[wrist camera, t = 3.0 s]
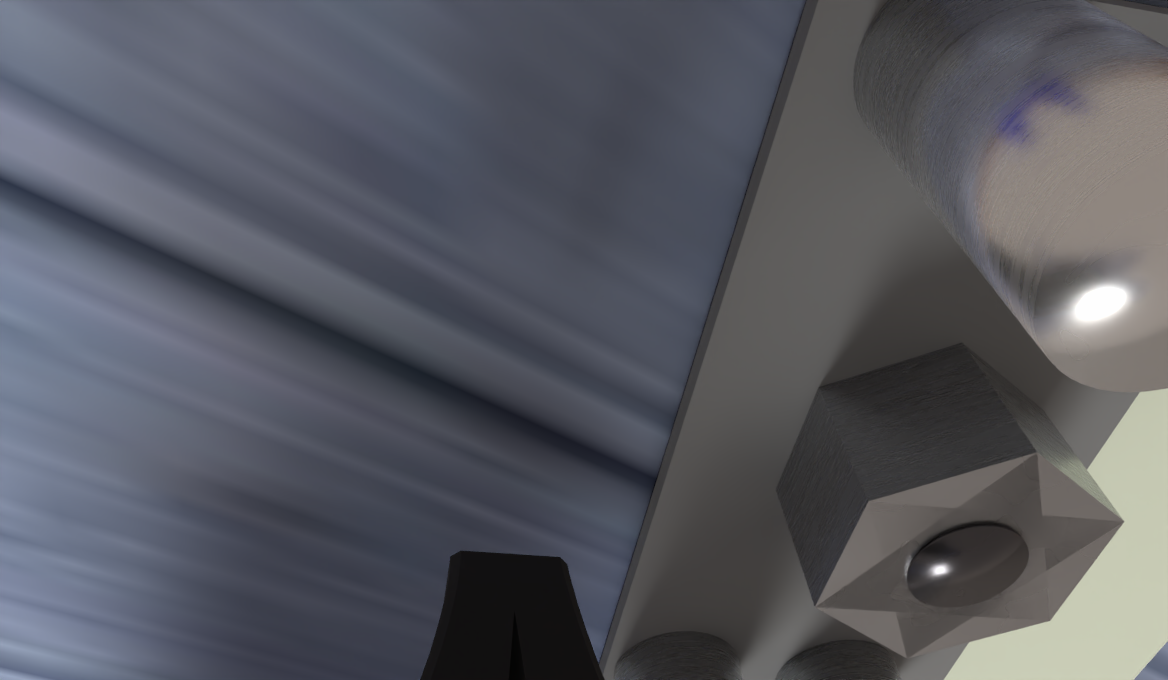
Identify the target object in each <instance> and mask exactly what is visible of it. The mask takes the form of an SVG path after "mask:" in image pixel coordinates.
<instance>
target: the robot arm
mask: <svg viewBox="0 0 1168 680" xmlns="http://www.w3.org/2000/svg"><path fill="white" fill-rule="evenodd" d="M420 680H605V679H604V677H603V674H602V672H601V669H600V667H599V664H598V661H597V659H596V656H595V653H594V650H593V648H592V645H591V642H590V639H589V636H588V634H587V631H586V628H585V625H584V622H583V619H582V616H581V613H580V610H579V606H578V603H577V600H576V597H575V593H574V589H573V586H572V582H571V579H570V575H569V571H568V566H567V564H566V563H565V562H564V561H563V560H562V559H561V558H560V557H549V556H534V555H518V554H503V553H488V552H473V551H460V552H458V553H456V554H454V555H452V556H451V557H450V564H449V571H448V578H447V585H446V592H445V599H444V604H443V608H442V612H441V616H440V620H439V624H438V627H437V631H436V634H435V637H434V641H433V644H432V647H431V651H430V654H429V657H428V660H427V663H426V665H425V668H424V671H423V674H422V676H421V679H420Z"/></svg>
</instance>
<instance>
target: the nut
mask: <svg viewBox="0 0 1168 680" xmlns="http://www.w3.org/2000/svg"><path fill="white" fill-rule="evenodd" d="M776 492H777V495H778V498H779V501H780V504H781V507H782V510H783V513H784V516H785V519H786V522H787V525H788V528H789V531H790V534H791V537H792V540H793V543H794V546H795V549H796V552H797V555H798V558H799V561H800V564H801V567H802V570H803V573H804V576H805V579H806V582H807V585H808V588H809V591H810V594H811V597H812V600H813V603H814V606H815V608H817V609H819V610H821V611H823V612H824V613H826V614H828V615H830V616H832V617H833V618H835V619H837V620H839V621H841V622H842V623H844V624H846V625H848V626H850V627H851V628H853V629H855V630H857V631H859V632H860V633H862V634H864V635H866V636H867V637H869V638H871V639H873V640H875V641H876V642H878V643H880V644H882V645H884V646H885V647H887V648H889V649H891V650H893V651H894V652H896V653H898V654H900V655H902V656H903V657H905V658H907V659H908V658H911V657H915V656H919V655H923V654H927V653H930V652H934V651H938V650H942V649H945V648H949V647H953V646H957V645H961V644H964V643H968V642H972V641H976V640H980V639H983V638H987V637H991V636H995V635H999V634H1002V633H1006V632H1010V631H1014V630H1017V629H1021V628H1025V627H1029V626H1033V625H1036V624H1040V623H1044V622H1048V621H1050V620H1051V619H1052V618H1053V616H1054V615H1055V614H1056V612H1057V611H1058V610H1059V608H1060V607H1061V606H1062V604H1063V603H1064V602H1065V600H1066V599H1067V598H1068V596H1069V595H1070V594H1071V592H1072V591H1073V590H1074V588H1075V587H1076V586H1077V584H1078V583H1079V582H1080V580H1081V579H1082V578H1083V576H1084V575H1085V574H1086V572H1087V571H1088V570H1089V568H1090V567H1091V566H1092V564H1093V563H1094V562H1095V560H1096V559H1097V558H1098V556H1099V555H1100V554H1101V552H1102V551H1103V550H1104V548H1105V547H1106V546H1107V544H1108V543H1109V542H1110V540H1111V539H1112V538H1113V536H1114V535H1115V534H1116V532H1117V531H1118V530H1119V528H1120V527H1121V526H1122V524H1123V523H1124V520H1123V519H1122V517H1121V516H1120V515H1119V513H1118V512H1117V511H1116V509H1115V508H1114V506H1113V505H1112V504H1111V502H1110V501H1109V500H1108V498H1107V497H1106V495H1105V494H1104V493H1103V491H1102V490H1101V489H1100V487H1099V486H1098V484H1097V483H1096V482H1095V480H1094V479H1093V478H1092V476H1091V475H1090V473H1089V472H1088V471H1087V469H1086V468H1085V467H1084V465H1083V464H1082V462H1081V461H1080V460H1079V458H1078V457H1077V455H1076V454H1075V453H1074V451H1073V450H1072V449H1071V447H1070V446H1069V444H1068V443H1067V442H1066V440H1065V439H1064V438H1063V436H1062V435H1061V433H1060V432H1059V431H1058V429H1057V428H1056V427H1055V425H1054V424H1053V422H1052V421H1051V420H1050V418H1049V417H1048V416H1047V414H1046V413H1045V411H1044V410H1043V409H1042V408H1041V407H1039V406H1038V405H1037V404H1036V403H1035V402H1033V401H1032V400H1031V399H1030V398H1029V397H1027V396H1026V395H1025V394H1024V393H1023V392H1021V391H1020V390H1019V389H1018V388H1017V387H1015V386H1014V385H1013V384H1012V383H1011V382H1009V381H1008V380H1007V379H1006V378H1005V377H1003V376H1002V375H1001V374H1000V373H999V372H997V371H996V370H995V369H994V368H993V367H991V366H990V365H989V364H988V363H987V362H985V361H984V360H983V359H982V358H981V357H979V356H978V355H977V354H976V353H975V352H973V351H972V350H971V349H970V348H969V347H967V346H966V345H965V344H964V343H963V342H962V343H959V344H956V345H952V346H949V347H946V348H943V349H940V350H936V351H933V352H930V353H927V354H924V355H920V356H917V357H914V358H911V359H908V360H904V361H901V362H898V363H895V364H891V365H888V366H885V367H882V368H879V369H875V370H872V371H869V372H866V373H863V374H859V375H856V376H853V377H850V378H847V379H843V380H840V381H837V382H834V383H831V384H827V385H824V386H821V387H818V390H817V392H816V394H815V397H814V399H813V402H812V404H811V406H810V409H809V411H808V413H807V416H806V418H805V421H804V423H803V425H802V428H801V430H800V432H799V435H798V437H797V440H796V442H795V444H794V447H793V449H792V452H791V454H790V456H789V459H788V461H787V463H786V466H785V468H784V471H783V473H782V475H781V478H780V480H779V483H778V485H777V487H776Z"/></svg>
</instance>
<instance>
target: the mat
mask: <svg viewBox="0 0 1168 680" xmlns="http://www.w3.org/2000/svg"><path fill="white" fill-rule="evenodd" d="M887 1H888V0H807V1H806V4H805V7H804V10H803V14H802V17H801V20H800V23H799V26H798V30H797V33H796V36H795V39H794V42H793V46H792V49H791V52H790V55H789V58H788V62H787V65H786V68H785V71H784V74H783V78H782V81H781V84H780V87H779V90H778V94H777V97H776V100H775V103H774V106H773V110H772V113H771V116H770V119H769V122H768V126H767V129H766V132H765V135H764V138H763V142H762V145H761V148H760V151H759V154H758V158H757V161H756V164H755V167H754V170H753V174H752V177H751V180H750V183H749V186H748V190H747V193H746V196H745V199H744V202H743V206H742V209H741V212H740V215H739V218H738V222H737V225H736V228H735V231H734V234H733V238H732V241H731V244H730V247H729V250H728V254H727V257H726V260H725V263H724V266H723V270H722V273H721V276H720V279H719V282H718V286H717V289H716V292H715V295H714V298H713V302H712V305H711V308H710V311H709V314H708V318H707V321H706V324H705V327H704V330H703V334H702V337H701V340H700V343H699V346H698V350H697V353H696V356H695V359H694V362H693V366H692V369H691V372H690V375H689V378H688V382H687V385H686V388H685V391H684V394H683V398H682V401H681V404H680V407H679V410H678V414H677V417H676V420H675V423H674V426H673V430H672V433H671V436H670V439H669V442H668V446H667V449H666V452H665V455H664V458H663V462H662V465H661V468H660V471H659V474H658V478H657V481H656V484H655V487H654V490H653V494H652V497H651V500H650V503H649V506H648V510H647V513H646V516H645V519H644V522H643V526H642V529H641V532H640V535H639V538H638V542H637V545H636V548H635V551H634V554H633V558H632V561H631V564H630V567H629V570H628V574H627V577H626V580H625V583H624V586H623V590H622V593H621V596H620V599H619V602H618V606H617V609H616V612H615V615H614V618H613V622H612V625H611V628H610V631H609V634H608V638H607V641H606V644H605V647H604V650H603V654H602V657H601V660H600V663H599V667H600V669H601V672H602V674H603V677H604V679H605V680H614V669H615V666H616V664H617V662H618V660H619V659H620V657H621V656H622V655H623V654H624V653H625V652H626V651H627V650H628V649H629V648H631V647H632V646H634V645H635V644H637V643H639V642H641V641H643V640H645V639H647V638H650V637H653V636H656V635H659V634H664V633H669V632H676V631H696V632H703V633H708V634H711V635H714V636H717V637H719V638H721V639H723V640H725V641H726V642H727V643H729V644H730V645H731V646H732V647H733V648H734V650H735V652H736V653H737V656H738V660H739V664H740V668H741V673H742V677H743V680H775V678H776V675H777V673H778V672H779V670H780V669H781V668H782V666H783V665H784V664H785V663H786V662H787V661H788V660H790V659H791V658H792V657H794V656H795V655H797V654H799V653H800V652H802V651H804V650H806V649H808V648H811V647H813V646H816V645H819V644H823V643H827V642H831V641H838V640H864V641H869V642H872V643H875V644H878V645H880V646H882V647H884V648H885V649H887V650H888V651H889V652H890V653H891V655H892V656H893V658H894V661H895V663H896V666H897V668H898V671H899V673H900V676H901V678H902V680H1134V678H1135V677H1136V676H1137V675H1138V674H1139V673H1140V672H1141V670H1142V669H1143V668H1144V667H1145V666H1146V665H1147V664H1148V663H1149V661H1150V660H1151V659H1152V658H1153V657H1154V656H1155V655H1156V654H1157V652H1158V651H1159V650H1160V649H1161V648H1162V647H1163V646H1164V644H1165V643H1166V642H1167V641H1168V388H1167V389H1160V390H1154V391H1147V392H1112V391H1106V390H1100V389H1096V388H1093V387H1089V386H1086V385H1083V384H1081V383H1079V382H1077V381H1075V380H1073V379H1071V378H1069V377H1068V376H1066V375H1065V374H1063V373H1062V372H1061V371H1059V370H1058V369H1057V368H1056V367H1055V366H1054V365H1053V364H1052V362H1051V361H1050V360H1049V359H1048V358H1047V357H1046V355H1045V354H1044V353H1043V351H1042V350H1041V349H1040V348H1039V346H1038V345H1037V344H1036V343H1035V341H1034V340H1033V339H1032V338H1031V336H1030V335H1029V334H1028V332H1027V331H1026V330H1025V329H1024V327H1023V326H1022V325H1021V324H1020V322H1019V321H1018V320H1017V318H1016V317H1015V316H1014V315H1013V313H1012V312H1011V311H1010V310H1009V308H1008V307H1007V306H1006V304H1005V303H1004V302H1003V301H1002V299H1001V298H1000V297H999V296H998V294H997V293H996V292H995V291H994V289H993V288H992V287H991V285H990V284H989V283H988V282H987V280H986V279H985V278H984V277H983V275H982V274H981V273H980V271H979V270H978V269H977V268H976V266H975V265H974V264H973V263H972V261H971V260H970V259H969V257H968V256H967V255H966V254H965V252H964V251H963V250H962V249H961V247H960V246H959V245H958V244H957V242H956V241H955V240H954V238H953V237H952V236H951V235H950V233H949V232H948V231H947V230H946V228H945V227H944V226H943V224H942V223H941V222H940V221H939V219H938V218H937V217H936V216H935V214H934V213H933V212H932V211H931V209H930V208H929V207H928V205H927V204H926V203H925V202H924V200H923V199H922V198H921V197H920V195H919V194H918V193H917V191H916V190H915V189H914V188H913V186H912V185H911V184H910V183H909V181H908V180H907V179H906V177H905V176H904V175H903V174H902V172H901V171H900V170H899V169H898V167H897V166H896V165H895V164H894V162H893V161H892V160H891V158H890V157H889V156H888V155H887V153H886V152H885V151H884V150H883V148H882V147H881V146H880V144H879V143H878V142H877V141H876V139H875V138H874V137H873V136H872V134H871V133H870V132H869V130H868V129H867V128H866V126H865V124H864V123H863V121H862V120H861V117H860V115H859V113H858V111H857V107H856V103H855V100H854V92H853V72H854V66H855V60H856V56H857V53H858V50H859V46H860V44H861V42H862V39H863V37H864V35H865V33H866V31H867V29H868V27H869V25H870V24H871V22H872V20H873V19H874V17H875V16H876V15H877V13H878V12H879V10H880V9H881V8H882V6H883V5H884V4H885V3H886V2H887ZM1085 1H1087V2H1089V3H1091V4H1092V5H1094V6H1096V7H1097V8H1099V9H1101V10H1103V11H1104V12H1106V13H1108V14H1110V15H1111V16H1113V17H1115V18H1117V19H1118V20H1120V21H1122V22H1124V23H1125V24H1127V25H1129V26H1131V27H1132V28H1134V29H1136V30H1138V31H1139V32H1141V33H1143V34H1144V35H1146V36H1148V37H1150V38H1151V39H1153V40H1155V41H1157V42H1158V43H1160V44H1162V45H1164V46H1165V47H1167V48H1168V8H1163V7H1157V6H1152V5H1146V4H1141V3H1135V2H1130V1H1124V0H1085ZM962 342H963V343H964V344H965V345H966V346H967V347H969V348H970V349H971V350H972V351H973V352H975V353H976V354H977V355H978V356H979V357H981V358H982V359H983V360H984V361H985V362H987V363H988V364H989V365H990V366H991V367H993V368H994V369H995V370H996V371H997V372H999V373H1000V374H1001V375H1002V376H1003V377H1005V378H1006V379H1007V380H1008V381H1009V382H1011V383H1012V384H1013V385H1014V386H1015V387H1017V388H1018V389H1019V390H1020V391H1021V392H1023V393H1024V394H1025V395H1026V396H1027V397H1029V398H1030V399H1031V400H1032V401H1033V402H1035V403H1036V404H1037V405H1038V406H1039V407H1041V408H1042V409H1043V410H1044V411H1045V413H1046V414H1047V416H1048V417H1049V418H1050V420H1051V421H1052V422H1053V424H1054V425H1055V427H1056V428H1057V429H1058V431H1059V432H1060V433H1061V435H1062V436H1063V438H1064V439H1065V440H1066V442H1067V443H1068V444H1069V446H1070V447H1071V449H1072V450H1073V451H1074V453H1075V454H1076V455H1077V457H1078V458H1079V460H1080V461H1081V462H1082V464H1083V465H1084V467H1085V468H1086V469H1087V471H1088V472H1089V473H1090V475H1091V476H1092V478H1093V479H1094V480H1095V482H1096V483H1097V484H1098V486H1099V487H1100V489H1101V490H1102V491H1103V493H1104V494H1105V495H1106V497H1107V498H1108V500H1109V501H1110V502H1111V504H1112V505H1113V506H1114V508H1115V509H1116V511H1117V512H1118V513H1119V515H1120V516H1121V517H1122V519H1123V520H1124V523H1123V524H1122V526H1121V527H1120V528H1119V530H1118V531H1117V532H1116V534H1115V535H1114V536H1113V538H1112V539H1111V540H1110V542H1109V543H1108V544H1107V546H1106V547H1105V548H1104V550H1103V551H1102V552H1101V554H1100V555H1099V556H1098V558H1097V559H1096V560H1095V562H1094V563H1093V564H1092V566H1091V567H1090V568H1089V570H1088V571H1087V572H1086V574H1085V575H1084V576H1083V578H1082V579H1081V580H1080V582H1079V583H1078V584H1077V586H1076V587H1075V588H1074V590H1073V591H1072V592H1071V594H1070V595H1069V596H1068V598H1067V599H1066V600H1065V602H1064V603H1063V604H1062V606H1061V607H1060V608H1059V610H1058V611H1057V612H1056V614H1055V615H1054V616H1053V618H1052V619H1051V620H1050V621H1048V622H1044V623H1040V624H1036V625H1033V626H1029V627H1025V628H1021V629H1017V630H1014V631H1010V632H1006V633H1002V634H999V635H995V636H991V637H987V638H983V639H980V640H976V641H972V642H968V643H964V644H961V645H957V646H953V647H949V648H945V649H942V650H938V651H934V652H930V653H927V654H923V655H919V656H915V657H911V658H908V659H907V658H905V657H903V656H902V655H900V654H898V653H896V652H894V651H893V650H891V649H889V648H887V647H885V646H884V645H882V644H880V643H878V642H876V641H875V640H873V639H871V638H869V637H867V636H866V635H864V634H862V633H860V632H859V631H857V630H855V629H853V628H851V627H850V626H848V625H846V624H844V623H842V622H841V621H839V620H837V619H835V618H833V617H832V616H830V615H828V614H826V613H824V612H823V611H821V610H819V609H817V608H815V606H814V603H813V600H812V597H811V594H810V591H809V588H808V585H807V582H806V579H805V576H804V573H803V570H802V567H801V564H800V561H799V558H798V555H797V552H796V549H795V546H794V543H793V540H792V537H791V534H790V531H789V528H788V525H787V522H786V519H785V516H784V513H783V510H782V507H781V504H780V501H779V498H778V495H777V492H776V487H777V485H778V483H779V480H780V478H781V475H782V473H783V471H784V468H785V466H786V463H787V461H788V459H789V456H790V454H791V452H792V449H793V447H794V444H795V442H796V440H797V437H798V435H799V432H800V430H801V428H802V425H803V423H804V421H805V418H806V416H807V413H808V411H809V409H810V406H811V404H812V402H813V399H814V397H815V394H816V392H817V390H818V387H821V386H824V385H827V384H831V383H834V382H837V381H840V380H843V379H847V378H850V377H853V376H856V375H859V374H863V373H866V372H869V371H872V370H875V369H879V368H882V367H885V366H888V365H891V364H895V363H898V362H901V361H904V360H908V359H911V358H914V357H917V356H920V355H924V354H927V353H930V352H933V351H936V350H940V349H943V348H946V347H949V346H952V345H956V344H959V343H962Z"/></svg>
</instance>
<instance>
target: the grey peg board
mask: <svg viewBox="0 0 1168 680" xmlns="http://www.w3.org/2000/svg"><path fill="white" fill-rule="evenodd" d="M853 92H854V100H855V103H856V107H857V111H858V113H859V115H860V117H861V120H862V121H863V123H864V124H865V126H866V128H867V129H868V130H869V132H870V133H871V134H872V136H873V137H874V138H875V139H876V141H877V142H878V143H879V144H880V146H881V147H882V148H883V150H884V151H885V152H886V153H887V155H888V156H889V157H890V158H891V160H892V161H893V162H894V164H895V165H896V166H897V167H898V169H899V170H900V171H901V172H902V174H903V175H904V176H905V177H906V179H907V180H908V181H909V183H910V184H911V185H912V186H913V188H914V189H915V190H916V191H917V193H918V194H919V195H920V197H921V198H922V199H923V200H924V202H925V203H926V204H927V205H928V207H929V208H930V209H931V211H932V212H933V213H934V214H935V216H936V217H937V218H938V219H939V221H940V222H941V223H942V224H943V226H944V227H945V228H946V230H947V231H948V232H949V233H950V235H951V236H952V237H953V238H954V240H955V241H956V242H957V244H958V245H959V246H960V247H961V249H962V250H963V251H964V252H965V254H966V255H967V256H968V257H969V259H970V260H971V261H972V263H973V264H974V265H975V266H976V268H977V269H978V270H979V271H980V273H981V274H982V275H983V277H984V278H985V279H986V280H987V282H988V283H989V284H990V285H991V287H992V288H993V289H994V291H995V292H996V293H997V294H998V296H999V297H1000V298H1001V299H1002V301H1003V302H1004V303H1005V304H1006V306H1007V307H1008V308H1009V310H1010V311H1011V312H1012V313H1013V315H1014V316H1015V317H1016V318H1017V320H1018V321H1019V322H1020V324H1021V325H1022V326H1023V327H1024V329H1025V330H1026V331H1027V332H1028V334H1029V335H1030V336H1031V338H1032V339H1033V340H1034V341H1035V343H1036V344H1037V345H1038V346H1039V348H1040V349H1041V350H1042V351H1043V353H1044V354H1045V355H1046V357H1047V358H1048V359H1049V360H1050V361H1051V362H1052V364H1053V365H1054V366H1055V367H1056V368H1057V369H1058V370H1059V371H1061V372H1062V373H1063V374H1065V375H1066V376H1068V377H1069V378H1071V379H1073V380H1075V381H1077V382H1079V383H1081V384H1083V385H1086V386H1089V387H1093V388H1096V389H1100V390H1106V391H1112V392H1147V391H1154V390H1160V389H1167V388H1168V48H1167V47H1165V46H1164V45H1162V44H1160V43H1158V42H1157V41H1155V40H1153V39H1151V38H1150V37H1148V36H1146V35H1144V34H1143V33H1141V32H1139V31H1138V30H1136V29H1134V28H1132V27H1131V26H1129V25H1127V24H1125V23H1124V22H1122V21H1120V20H1118V19H1117V18H1115V17H1113V16H1111V15H1110V14H1108V13H1106V12H1104V11H1103V10H1101V9H1099V8H1097V7H1096V6H1094V5H1092V4H1091V3H1089V2H1087V1H1085V0H888V1H887V2H886V3H885V4H884V5H883V6H882V8H881V9H880V10H879V12H878V13H877V15H876V16H875V17H874V19H873V20H872V22H871V24H870V25H869V27H868V29H867V31H866V33H865V35H864V37H863V39H862V42H861V44H860V46H859V50H858V53H857V56H856V60H855V66H854V72H853ZM614 680H743V677H742V673H741V668H740V664H739V660H738V656H737V653H736V652H735V650H734V648H733V647H732V646H731V645H730V644H729V643H727V642H726V641H725V640H723V639H721V638H719V637H717V636H714V635H711V634H708V633H703V632H696V631H676V632H669V633H664V634H659V635H656V636H653V637H650V638H647V639H645V640H643V641H641V642H639V643H637V644H635V645H634V646H632V647H631V648H629V649H628V650H627V651H626V652H625V653H624V654H623V655H622V656H621V657H620V659H619V660H618V662H617V664H616V666H615V669H614ZM775 680H902V678H901V676H900V673H899V671H898V668H897V666H896V663H895V661H894V658H893V656H892V655H891V653H890V652H889V651H888V650H887V649H885V648H884V647H882V646H880V645H878V644H875V643H872V642H869V641H864V640H838V641H831V642H827V643H823V644H819V645H816V646H813V647H811V648H808V649H806V650H804V651H802V652H800V653H799V654H797V655H795V656H794V657H792V658H791V659H790V660H788V661H787V662H786V663H785V664H784V665H783V666H782V668H781V669H780V670H779V672H778V673H777V675H776V678H775Z"/></svg>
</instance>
